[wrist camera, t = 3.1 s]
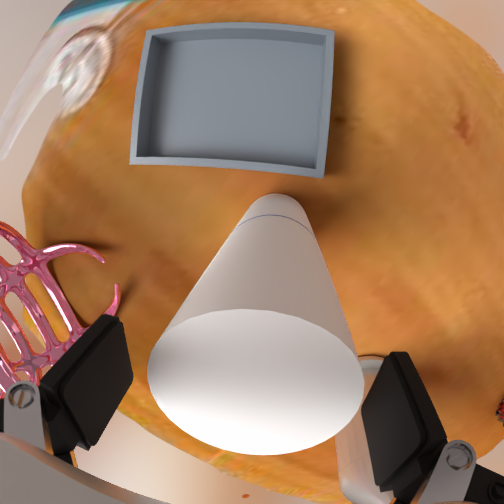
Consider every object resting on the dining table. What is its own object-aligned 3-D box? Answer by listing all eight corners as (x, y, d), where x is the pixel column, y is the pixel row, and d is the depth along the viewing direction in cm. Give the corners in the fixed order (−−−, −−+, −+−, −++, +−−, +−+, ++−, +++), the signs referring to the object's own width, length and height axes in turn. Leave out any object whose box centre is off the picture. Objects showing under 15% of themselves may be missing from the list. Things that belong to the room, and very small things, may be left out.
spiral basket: (28, 174, 12) (-124, 343, 3) (201, 422, 26) (42, 493, 17) (68, 165, 35) (-47, 252, 25) (142, 306, 49) (37, 369, 39)
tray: (328, 44, 24) (334, 30, 21) (318, 176, 29) (323, 178, 26) (160, 41, 26) (146, 30, 22) (146, 163, 31) (129, 164, 27)
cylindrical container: (272, 180, 30) (234, 252, 7) (320, 222, 31) (404, 390, 7) (231, 227, 32) (118, 387, 9) (278, 267, 33) (261, 469, 10)
